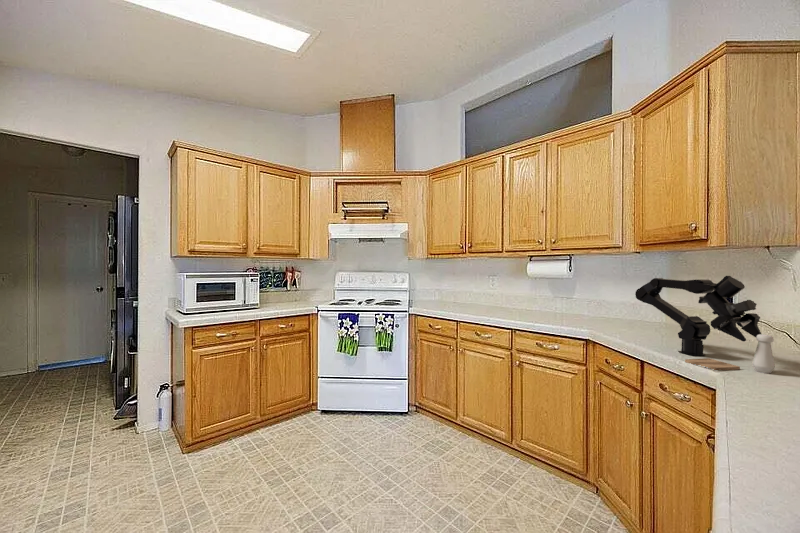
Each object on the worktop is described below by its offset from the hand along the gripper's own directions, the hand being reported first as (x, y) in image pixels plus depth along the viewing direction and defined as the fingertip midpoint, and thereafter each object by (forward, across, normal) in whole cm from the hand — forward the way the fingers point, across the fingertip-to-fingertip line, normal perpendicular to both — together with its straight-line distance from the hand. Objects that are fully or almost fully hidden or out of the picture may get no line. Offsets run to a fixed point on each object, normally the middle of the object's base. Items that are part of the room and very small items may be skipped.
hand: (753, 340), depth 133 cm
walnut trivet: (+2, -10, +12) cm, 16 cm away
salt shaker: (+10, 0, +5) cm, 11 cm away
